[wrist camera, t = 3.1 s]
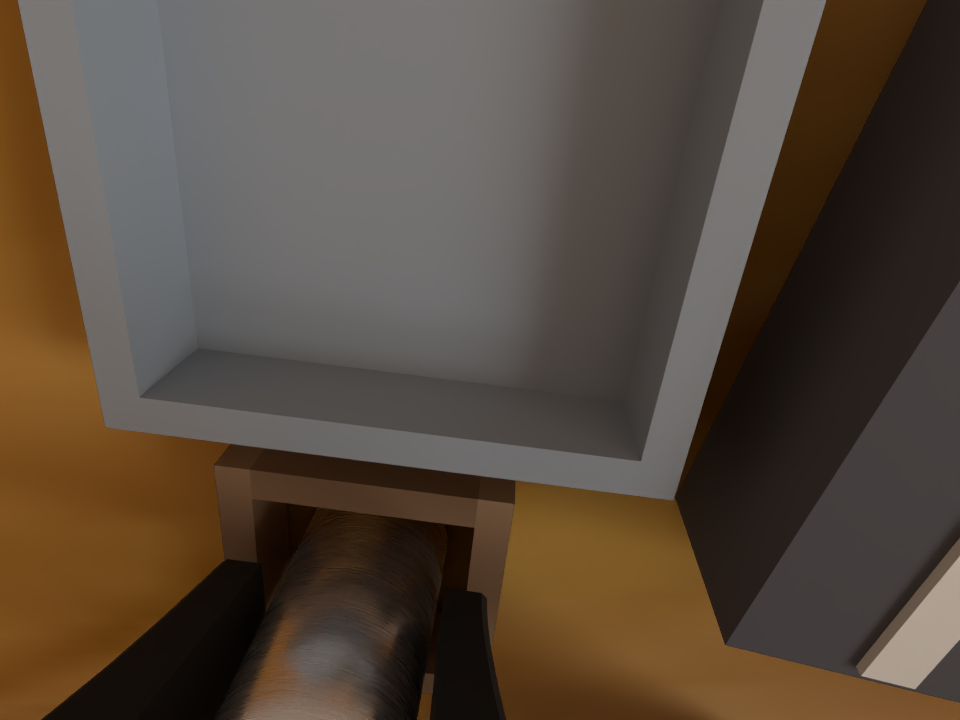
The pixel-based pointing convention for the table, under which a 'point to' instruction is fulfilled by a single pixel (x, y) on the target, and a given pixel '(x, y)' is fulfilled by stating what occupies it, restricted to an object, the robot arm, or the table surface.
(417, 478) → the collar
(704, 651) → the table surface
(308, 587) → the pin
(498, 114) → the tray
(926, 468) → the block
